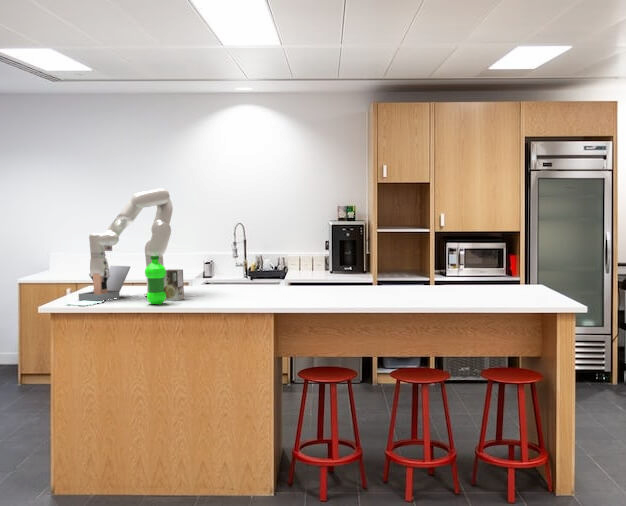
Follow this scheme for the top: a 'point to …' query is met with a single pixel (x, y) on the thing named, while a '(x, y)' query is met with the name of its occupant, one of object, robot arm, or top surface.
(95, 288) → the block
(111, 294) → the case
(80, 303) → the mat
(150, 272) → the plastic bottle
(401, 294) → the top surface
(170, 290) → the coffee box
